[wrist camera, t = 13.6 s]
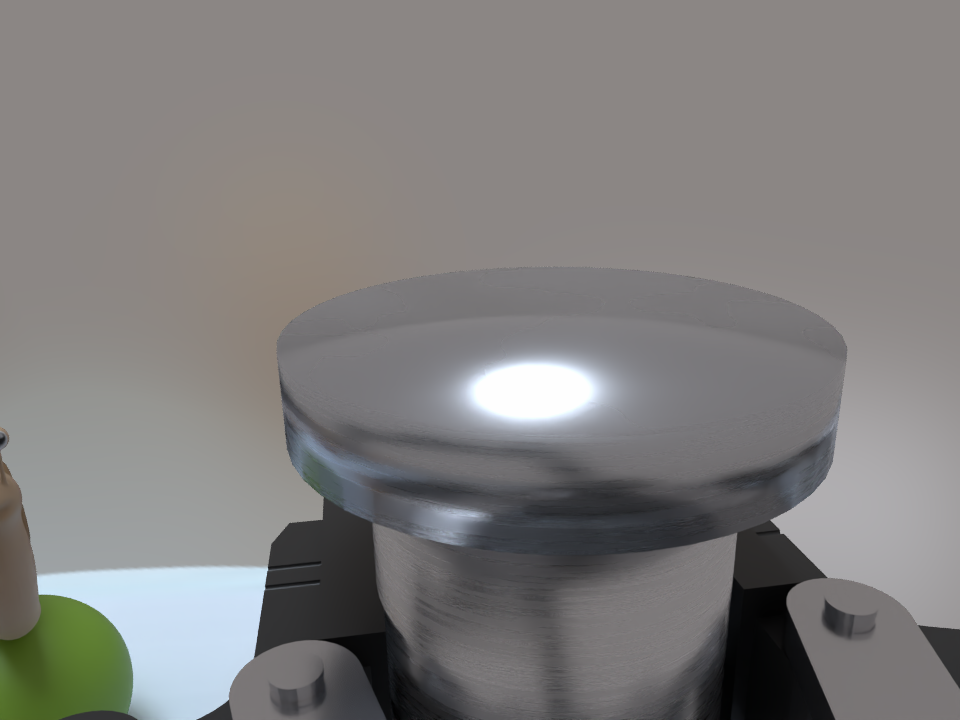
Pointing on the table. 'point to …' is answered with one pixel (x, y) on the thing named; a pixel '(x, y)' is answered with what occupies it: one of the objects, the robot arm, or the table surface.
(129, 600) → the table surface
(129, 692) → the snail figurine
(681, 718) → the steel pin
